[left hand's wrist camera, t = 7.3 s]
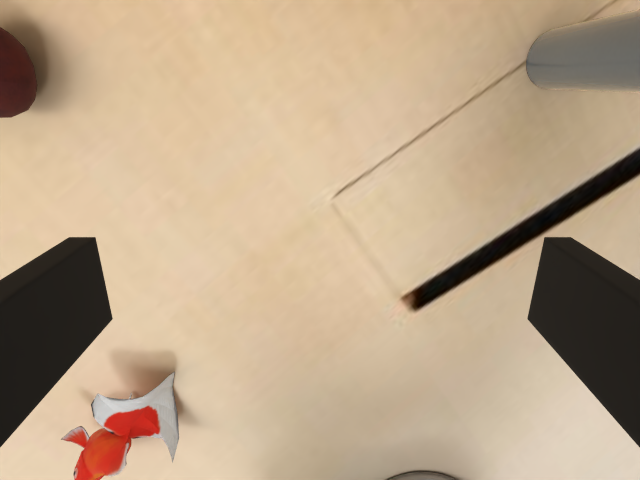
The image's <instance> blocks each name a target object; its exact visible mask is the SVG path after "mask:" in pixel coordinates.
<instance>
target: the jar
mask: <svg viewBox="0 0 640 480" xmlns="http://www.w3.org/2000/svg"><path fill="white" fill-rule="evenodd" d="M526 68H527V73H528V76H529V78H530V80H531V81H532V82H533V83H534V84H535V85H536V86H538V87H540V88H543V89H549V90H578V91H607V92H636V93H640V9H638V10H634V11H630V12H625V13H621V14H616V15H612V16H607V17H603V18H599V19H594V20H590V21H585V22H581V23H577V24H572V25H568V26H563V27H559V28H555V29H551V30H549V31H547V32H545V33H543V34H542V35H541V36H540V37H539V38H538V39H537V40H536V41H535V42H534V43H533V45H532V46H531V48H530V50H529V53H528V56H527V61H526Z"/></svg>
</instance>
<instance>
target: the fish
mask: <svg viewBox="0 0 640 480" xmlns="http://www.w3.org/2000/svg"><path fill="white" fill-rule="evenodd" d="M174 374H175V372H173V373H172V374H170V375H169V376H168V377H167V378H166V379H165V380H164V381H163V382H162V383H161V384H160V385H159V386H157V387H156V388H155V389H153V390H152V391H150V392H149V393H147V394H146V395H145V396H143V397H140V398H135V399H131V395H132V393H131V395H130V397H129V399H114V398H108V397H104V396H102V395H100V394H97V395H96V397H95V399H94V401H93V402H92V404H91V406H92V411H93V416H94V418H95V419H96V421H97V422H98V423H99V424H100V425H101V426H102V427H104V428H103V429H100V430H98V431H96V432H95V433H93V434H92V435H91V437H90V438H89V436H88V434H87V432H86V430H85V429H84V428H83V427H82V426H80V427H77V428H75V429H73V430H71V431H70V432H69V433H68V434H67V435H66V436H64V437H63V438H62V439H63V440H66V441H71V442H73V443H76V444H78V445H80V446H82V447H83V448H85V449H84V450H83V451H82V452H81V454H80V457H79V460H78V462H77V464H76V467H75V470H74V478H75V480H100V479H101V478H102V477H103V476H104V475H106V476H114V475H118V474H119V473H120V472H121V471H122V470H123V469H124V467H125V466H126V455H127V453H128V451H129V449H130V447H131V438H141V437H155V438H162V439H163V440H164V442H165V443H166V445H167V446H168V449H169V451H170V454H171V457H172V463H173V459H174V455H175V452H176V448H177V444H178V440H179V431H178V414H177V409H176V404H175V398H174V393H173V381H174ZM62 439H61V440H62Z"/></svg>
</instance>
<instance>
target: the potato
mask: <svg viewBox="0 0 640 480" xmlns="http://www.w3.org/2000/svg"><path fill="white" fill-rule="evenodd" d="M36 90H37V82H36V77H35V71H34V66H33V64H32V62H31V60H30V58H29V56H28V54H27V52H26V49H25V47H24V46H23V45H21V44H20V43H19V42H18V41H17V40H16V39H15V38H14V37H13V36H12V35H11V34H9V33H8V32H7V31H5V30H4V29H2V28H1V27H0V118H2V117H13V116H16V115H18V114H20V113H22V112H24V111H27V110H28V109H29V108H30V106H31V105H32V103H33V102H34V100H35V96H36Z"/></svg>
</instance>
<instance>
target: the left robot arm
mask: <svg viewBox="0 0 640 480" xmlns="http://www.w3.org/2000/svg"><path fill="white" fill-rule="evenodd" d="M111 320H112V314H111V309H110V305H109V300H108V295H107V290H106V286H105V281H104V276H103V271H102V267H101V262H100V257H99V252H98V247H97V243H96V238H95V237H69V238H67V239H66V240H64V241H63V242H61V243H59V244H58V245H56V246H55V247H53V248H51V249H50V250H48V251H46V252H45V253H43V254H42V255H40V256H38V257H37V258H35V259H34V260H32V261H30V262H29V263H27V264H26V265H24V266H22V267H21V268H19V269H17V270H16V271H14V272H13V273H11V274H9V275H8V276H6V277H5V278H3V279H1V280H0V447H1V446H2V445H3V444H4V442H5V441H6V440H7V439H8V438H9V437H10V436H11V434H12V433H13V432H14V431H15V430H16V429H17V428H18V426H19V425H20V424H21V423H22V422H23V421H24V420H25V418H26V417H27V416H28V415H29V414H30V413H31V412H32V410H33V409H34V408H35V407H36V406H37V405H38V404H39V402H40V401H41V400H42V399H43V398H44V397H45V396H46V394H47V393H48V392H49V391H50V390H51V389H52V388H53V386H54V385H55V384H56V383H57V382H58V381H59V380H60V378H61V377H62V376H63V375H64V374H65V373H66V372H67V370H68V369H69V368H70V367H71V366H72V365H73V364H74V362H75V361H76V360H77V359H78V358H79V357H80V356H81V354H82V353H83V352H84V351H85V350H86V349H87V348H88V346H89V345H90V344H91V343H92V342H93V341H94V340H95V338H96V337H97V336H98V335H99V334H100V333H101V332H102V330H103V329H104V328H105V327H106V326H107V325H108V324H109V322H110V321H111ZM528 320H529V321H530V322H531V324H532V325H533V326H534V327H535V328H536V329H537V330H538V332H539V333H540V334H541V335H542V336H543V337H544V338H545V340H546V341H547V342H548V343H549V344H550V345H551V346H552V348H553V349H554V350H555V351H556V352H557V353H558V354H559V356H560V357H561V358H562V359H563V360H564V361H565V362H566V364H567V365H568V366H569V367H570V368H571V369H572V370H573V372H574V373H575V374H576V375H577V376H578V377H579V378H580V380H581V381H582V382H583V383H584V384H585V385H586V386H587V388H588V389H589V390H590V391H591V392H592V393H593V394H594V396H595V397H596V398H597V399H598V400H599V401H600V402H601V404H602V405H603V406H604V407H605V408H606V409H607V410H608V412H609V413H610V414H611V415H612V416H613V417H614V418H615V420H616V421H617V422H618V423H619V424H620V425H621V426H622V428H623V429H624V430H625V431H626V432H627V433H628V434H629V436H630V437H631V438H632V439H633V440H634V441H635V442H636V444H637V445H638V446H639V447H640V280H639V279H637V278H635V277H634V276H632V275H631V274H629V273H627V272H626V271H624V270H623V269H621V268H619V267H618V266H616V265H614V264H613V263H611V262H610V261H608V260H606V259H605V258H603V257H602V256H600V255H598V254H597V253H595V252H594V251H592V250H590V249H589V248H587V247H585V246H584V245H582V244H581V243H579V242H577V241H576V240H574V239H573V238H571V237H545V238H544V243H543V247H542V252H541V257H540V262H539V267H538V271H537V276H536V281H535V286H534V290H533V295H532V300H531V305H530V309H529V314H528ZM389 480H456V479H454V478H451V477H449V476H446V475H443V474H439V473H433V472H413V473H407V474H402V475H399V476H396V477H393V478H391V479H389Z"/></svg>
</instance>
